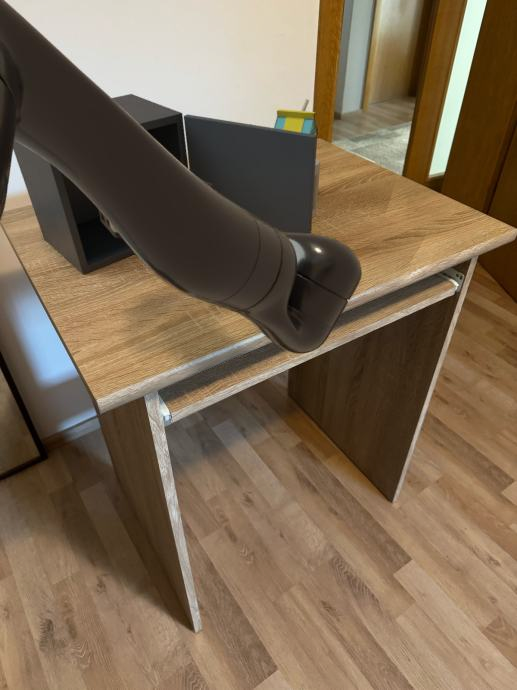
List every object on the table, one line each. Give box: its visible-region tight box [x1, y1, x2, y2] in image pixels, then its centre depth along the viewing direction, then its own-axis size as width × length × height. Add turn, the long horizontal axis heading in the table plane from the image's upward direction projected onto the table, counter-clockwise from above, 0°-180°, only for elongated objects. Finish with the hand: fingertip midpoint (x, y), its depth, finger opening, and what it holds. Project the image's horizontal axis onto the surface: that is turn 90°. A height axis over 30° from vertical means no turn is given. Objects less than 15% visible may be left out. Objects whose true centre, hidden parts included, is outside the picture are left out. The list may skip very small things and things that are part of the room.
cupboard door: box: [183, 114, 321, 233], centre depth 80 cm, size 6×22×20 cm, turn 61°
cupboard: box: [13, 93, 189, 275], centre depth 83 cm, size 16×22×20 cm
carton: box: [273, 98, 319, 150], centre depth 94 cm, size 7×8×18 cm
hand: (125, 185), depth 63 cm, fingers closed on pill bottle, 6 cm apart
